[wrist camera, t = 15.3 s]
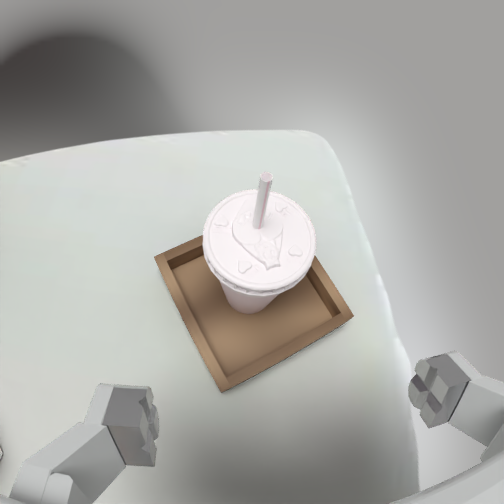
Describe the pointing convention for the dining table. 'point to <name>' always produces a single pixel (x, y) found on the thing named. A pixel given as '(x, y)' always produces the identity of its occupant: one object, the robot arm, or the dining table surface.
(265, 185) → the smoothie
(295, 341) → the tray
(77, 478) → the robot arm
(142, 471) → the dining table surface
